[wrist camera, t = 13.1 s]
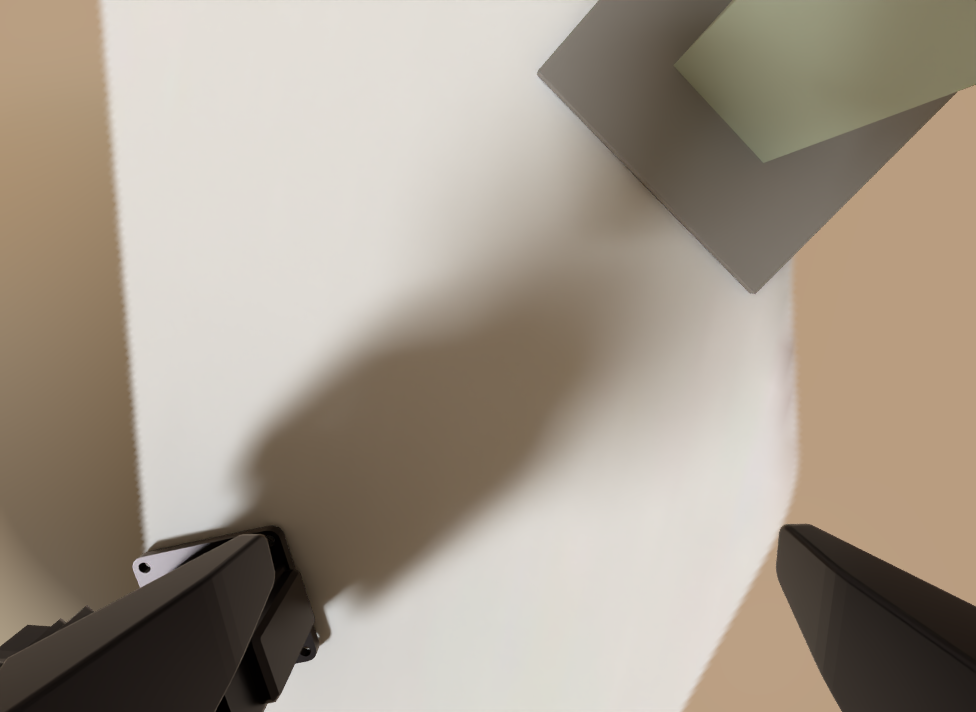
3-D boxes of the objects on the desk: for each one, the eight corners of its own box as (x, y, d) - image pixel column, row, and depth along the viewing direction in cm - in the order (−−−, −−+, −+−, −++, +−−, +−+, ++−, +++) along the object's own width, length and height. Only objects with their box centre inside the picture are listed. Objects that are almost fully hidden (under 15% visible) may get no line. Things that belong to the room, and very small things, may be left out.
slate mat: (749, 293, 20) (755, 293, 19) (536, 74, 18) (538, 70, 18) (985, 57, 18) (995, 52, 18) (776, -202, 17) (783, -214, 16)
